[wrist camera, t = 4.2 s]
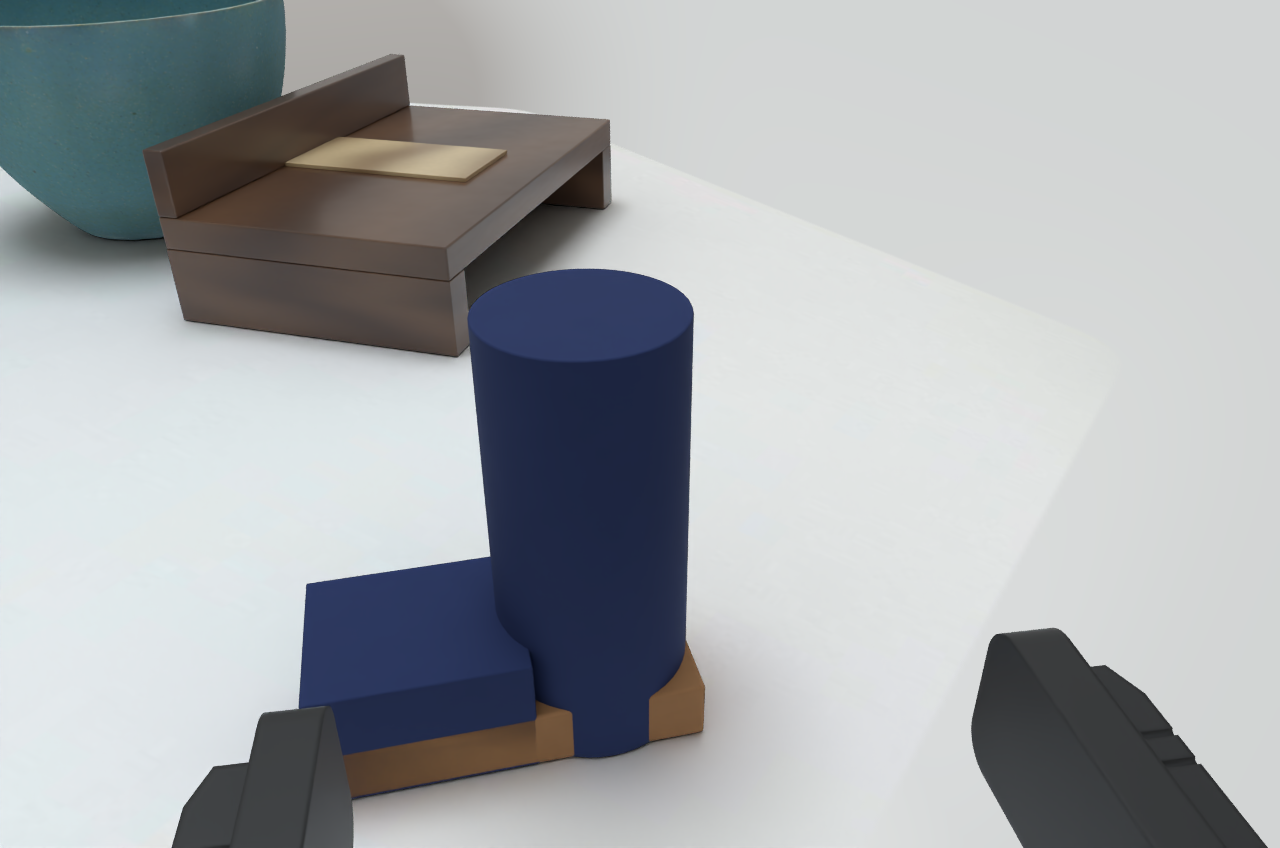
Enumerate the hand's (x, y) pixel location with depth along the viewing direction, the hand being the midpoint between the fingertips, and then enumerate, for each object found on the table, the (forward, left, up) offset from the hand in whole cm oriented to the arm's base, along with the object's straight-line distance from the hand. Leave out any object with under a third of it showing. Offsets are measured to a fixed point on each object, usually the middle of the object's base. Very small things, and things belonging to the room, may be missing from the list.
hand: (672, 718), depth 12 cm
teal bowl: (+42, -39, -11) cm, 58 cm away
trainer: (+7, -9, -10) cm, 15 cm away
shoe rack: (+24, -38, -10) cm, 46 cm away
